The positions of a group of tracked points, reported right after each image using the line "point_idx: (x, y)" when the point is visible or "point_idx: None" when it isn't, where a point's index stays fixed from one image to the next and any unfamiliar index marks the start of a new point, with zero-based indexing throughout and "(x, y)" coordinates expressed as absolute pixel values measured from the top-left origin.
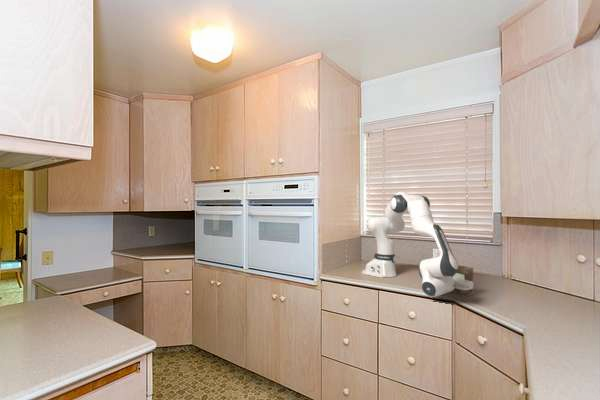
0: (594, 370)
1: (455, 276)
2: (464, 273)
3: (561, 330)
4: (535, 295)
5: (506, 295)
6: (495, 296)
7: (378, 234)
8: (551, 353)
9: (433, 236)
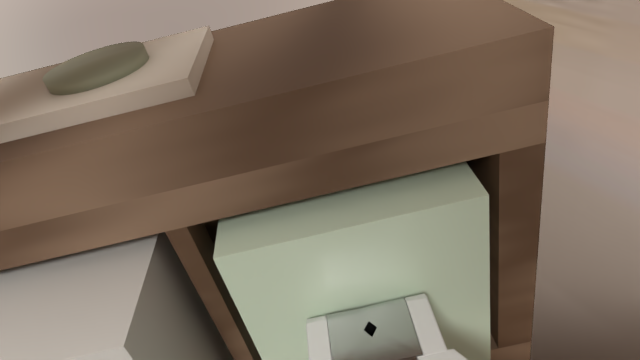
0: None
1: (297, 301)
2: (467, 160)
3: None
4: (601, 34)
5: (576, 120)
6: (592, 185)
7: None
8: None
9: None
